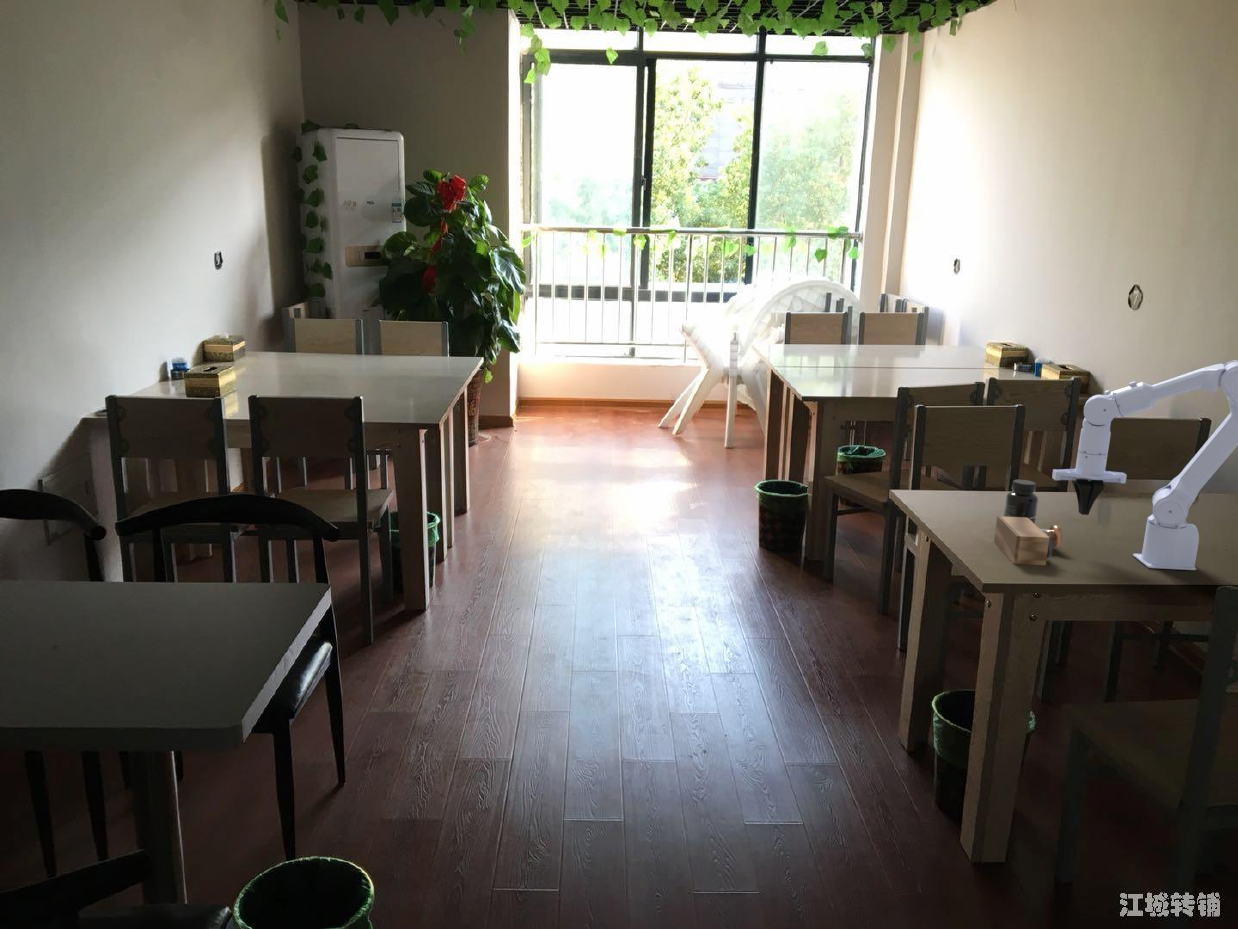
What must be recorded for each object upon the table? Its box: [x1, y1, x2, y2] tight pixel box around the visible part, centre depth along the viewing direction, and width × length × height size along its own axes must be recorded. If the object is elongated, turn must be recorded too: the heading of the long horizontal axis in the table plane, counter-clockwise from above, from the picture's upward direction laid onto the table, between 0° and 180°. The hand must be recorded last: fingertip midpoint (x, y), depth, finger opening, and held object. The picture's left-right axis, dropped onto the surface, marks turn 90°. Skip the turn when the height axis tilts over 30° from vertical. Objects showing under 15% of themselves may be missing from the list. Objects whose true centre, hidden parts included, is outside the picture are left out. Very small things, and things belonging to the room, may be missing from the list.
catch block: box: [993, 515, 1049, 566], centre depth 210 cm, size 6×14×6 cm, turn 175°
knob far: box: [1040, 525, 1063, 548], centre depth 214 cm, size 7×5×5 cm
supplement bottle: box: [1003, 479, 1039, 525], centre depth 224 cm, size 7×7×12 cm
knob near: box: [1047, 536, 1054, 559], centre depth 206 cm, size 7×5×5 cm
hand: (1083, 513), depth 212 cm, fingers closed
